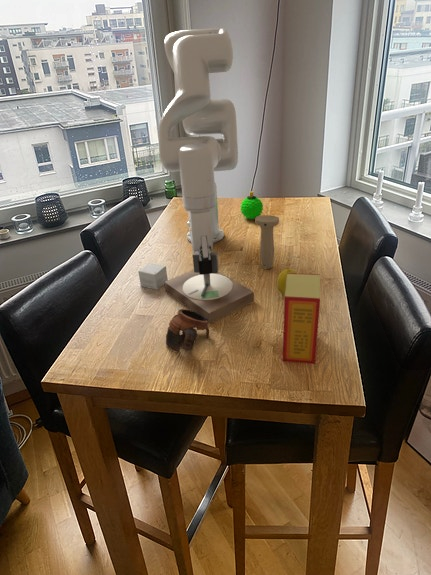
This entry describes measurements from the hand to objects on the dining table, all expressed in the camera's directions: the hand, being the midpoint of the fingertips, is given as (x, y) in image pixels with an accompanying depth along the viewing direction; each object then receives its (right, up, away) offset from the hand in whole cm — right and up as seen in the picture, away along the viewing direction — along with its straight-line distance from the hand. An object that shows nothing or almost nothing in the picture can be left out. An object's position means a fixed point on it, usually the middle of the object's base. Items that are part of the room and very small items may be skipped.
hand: (205, 269), depth 107 cm
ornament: (+16, +21, +48) cm, 55 cm away
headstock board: (+1, -7, +4) cm, 8 cm away
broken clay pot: (-3, -17, -12) cm, 21 cm away
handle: (+18, +1, +16) cm, 24 cm away
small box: (-14, -4, +12) cm, 19 cm away
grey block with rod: (0, -5, 0) cm, 5 cm away
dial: (+1, -4, +2) cm, 5 cm away
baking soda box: (+21, -18, -16) cm, 31 cm away
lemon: (+21, -7, +2) cm, 22 cm away
